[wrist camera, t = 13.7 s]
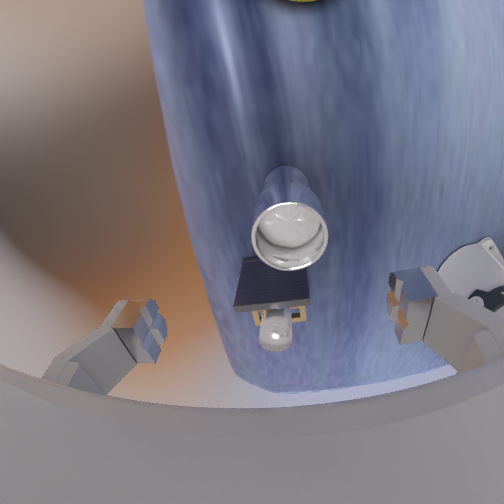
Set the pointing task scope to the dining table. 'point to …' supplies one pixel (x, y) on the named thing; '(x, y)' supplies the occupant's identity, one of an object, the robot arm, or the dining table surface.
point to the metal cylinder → (276, 329)
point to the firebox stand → (271, 289)
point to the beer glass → (288, 221)
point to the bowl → (302, 0)
